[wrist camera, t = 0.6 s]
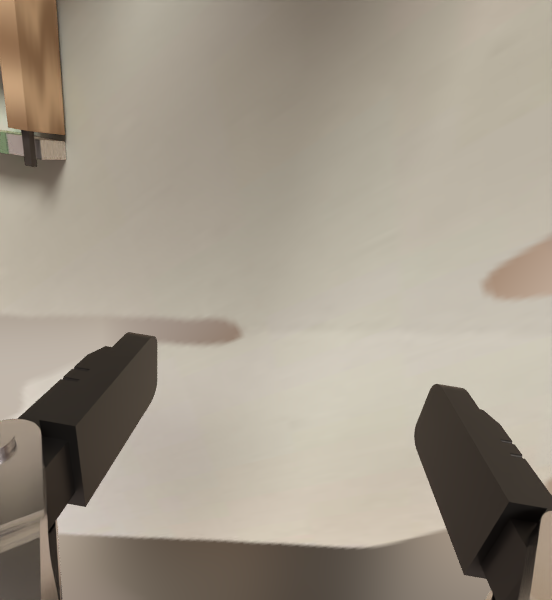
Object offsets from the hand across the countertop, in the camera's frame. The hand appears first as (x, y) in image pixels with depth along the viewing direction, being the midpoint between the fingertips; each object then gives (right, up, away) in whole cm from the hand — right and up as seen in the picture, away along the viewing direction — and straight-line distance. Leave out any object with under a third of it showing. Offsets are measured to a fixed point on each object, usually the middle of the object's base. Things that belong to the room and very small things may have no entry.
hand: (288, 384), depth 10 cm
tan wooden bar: (-22, +23, +20) cm, 37 cm away
